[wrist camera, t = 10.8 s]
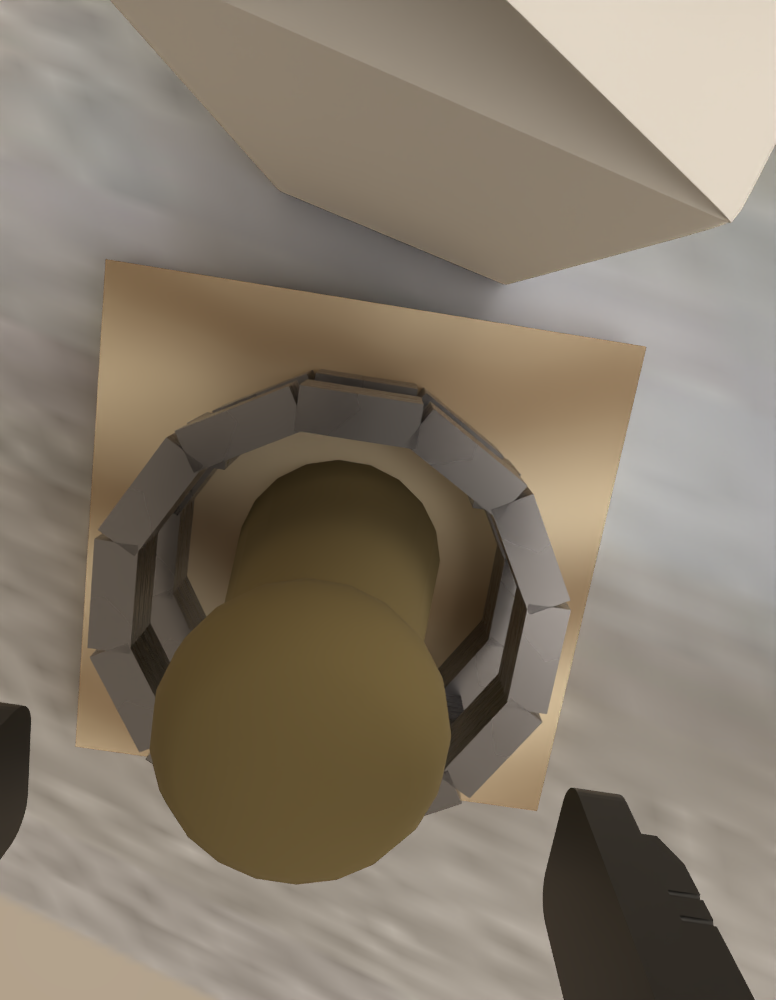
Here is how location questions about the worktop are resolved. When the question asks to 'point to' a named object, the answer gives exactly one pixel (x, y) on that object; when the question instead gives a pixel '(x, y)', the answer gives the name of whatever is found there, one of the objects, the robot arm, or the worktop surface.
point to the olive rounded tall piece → (310, 684)
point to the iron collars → (363, 417)
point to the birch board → (359, 443)
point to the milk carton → (490, 115)
